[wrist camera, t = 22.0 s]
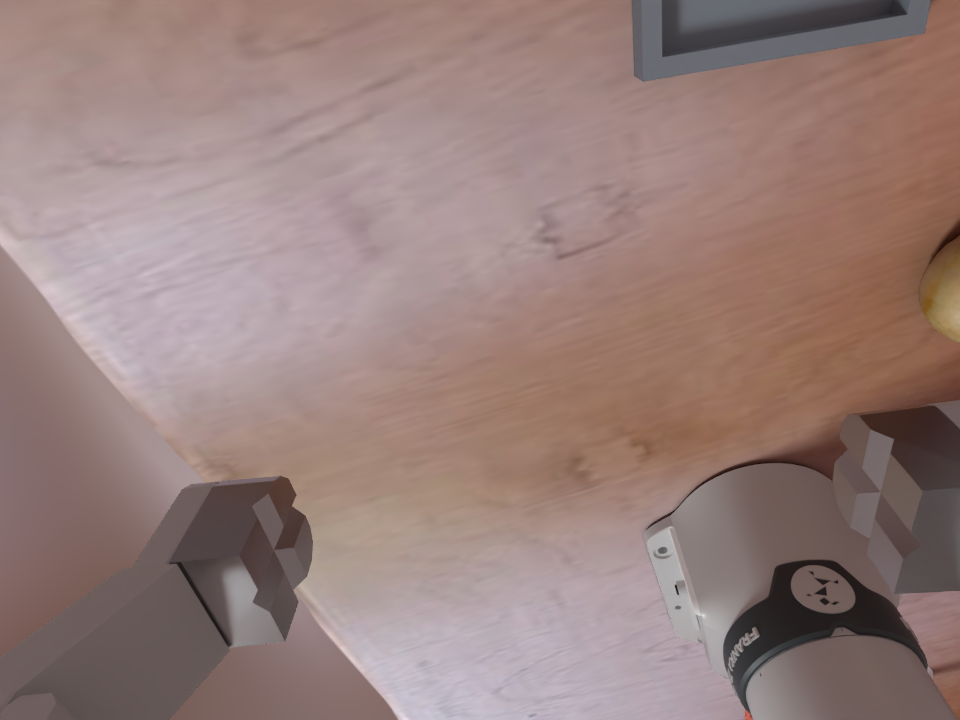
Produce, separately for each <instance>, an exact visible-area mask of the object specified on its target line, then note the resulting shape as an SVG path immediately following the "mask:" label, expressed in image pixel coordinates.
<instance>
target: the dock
mask: <svg viewBox="0 0 960 720" xmlns="http://www.w3.org/2000/svg"><path fill="white" fill-rule="evenodd" d="M930 2H931V0H632V17H633V49H634V76H635V77H637V78H639V79H640V80H642V81H649V80H655V79H661V78H667V77H672V76H678V75H684V74H690V73H696V72H702V71H708V70H713V69H719V68H725V67H731V66H737V65H743V64H749V63H754V62H760V61H766V60H772V59H778V58H784V57H789V56H795V55H801V54H807V53H813V52H819V51H825V50H830V49H836V48H842V47H848V46H854V45H860V44H866V43H871V42H877V41H883V40H889V39H895V38H901V37H906V36H912V35H918V34H924V33H925V29H926V24H927V18H928V13H929V8H930Z"/></svg>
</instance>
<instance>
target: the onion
mask: <svg viewBox="0 0 960 720" xmlns="http://www.w3.org/2000/svg"><path fill="white" fill-rule="evenodd" d="M919 302H920V307H921V309H922V311H923V313H924V315H925V316H926V318H927V320H928V321H929V323H930V324H931V325H932V326H933V327H934V328H935V329H936V330H938V331H939V332H940V333H941V334H943V335H944V336H946V337H948V338H950V339H952V340H954V341H956V342H958V343H960V235H958V237H957V238H956V239H954V240H953V241H951V242H949V243H948V244H947V245H945V246H944V247H943V248H942V249H941V250H940V251H939V252H938V253H937V254H936V256H935V257H934V258H933V260H932V261H931V262H930V264H929V266H928V267H927V269H926V270H925V272H924V274H923V277H922V279H921V283H920V288H919Z"/></svg>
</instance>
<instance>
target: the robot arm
mask: <svg viewBox="0 0 960 720" xmlns="http://www.w3.org/2000/svg"><path fill="white" fill-rule="evenodd" d="M839 438H840V439H841V441H842V442H843V443H844V445H845V446H846V447H847V450H846V451H845V452H844V453H843V454H842V455H841V456H840V457H839V458H838V459H837V460H836V461H835V464H834V472H833V482H832V481H831V480H830V479H829V478H827V477H826V476H824V475H823V474H821V473H819V472H817V471H815V470H813V469H810V468H807V467H803V466H799V465H794V464H785V463H766V464H757V465H751V466H746V467H742V468H739V469H735V470H732V471H729V472H727V473H724V474H722V475H720V476H717V477H715V478H714V479H712V480H710V481H708V482H706V483H705V484H703V485H702V486H700V487H699V488H698V489H696V490H695V491H694V492H693V493H692V494H691V495H689V496H688V497H687V498H686V499H685V501H684V502H683V503H682V504H681V505H680V506H679V507H678V509H677V510H676V511H675V512H674V513H672V514H671V515H670V516H668V517H666V518H664V519H663V520H661V521H659V522H657V523H655V524H654V525H652V526H651V527H649V528H648V529H647V530H646V531H645V533H644V541H645V544H646V547H647V550H648V553H649V556H650V559H651V562H652V565H653V568H654V571H655V574H656V577H657V580H658V583H659V586H660V589H661V592H662V595H663V598H664V601H665V604H666V607H667V610H668V613H669V616H670V619H671V622H672V625H673V628H674V630H675V633H676V635H677V636H678V637H679V638H681V639H684V640H688V641H691V642H696V643H701V644H703V646H704V649H705V653H706V656H707V659H708V662H709V665H710V668H711V669H712V670H713V671H714V672H715V673H717V674H719V675H720V676H723V677H726V678H728V679H729V680H730V683H731V685H732V687H733V689H734V691H735V693H736V695H737V696H738V698H739V699H740V701H741V703H742V705H743V706H744V708H745V709H746V710H745V719H746V720H959V719H958V718H957V716H956V715H955V713H954V712H953V710H952V709H951V707H950V706H949V704H948V703H947V701H946V700H945V698H944V697H943V695H942V694H941V692H940V691H939V689H938V687H937V686H936V684H935V683H934V681H933V680H932V678H931V677H930V675H929V673H928V672H927V668H928V665H927V660H926V657H925V654H924V653H923V651H922V649H921V648H920V646H919V644H918V643H919V642H918V639H917V637H916V636H915V634H914V632H913V631H912V629H911V627H910V626H909V624H908V623H907V622H906V621H905V620H904V619H903V618H902V616H901V615H900V613H899V611H898V610H897V607H898V605H899V600H900V599H901V598H902V594H904V593H923V592H942V591H960V400H955V401H947V402H940V403H932V404H926V405H924V406H915V407H906V408H897V409H888V410H880V411H871V412H862V413H854V414H847V416H846V417H845V419H844V421H843V422H842V425H841V430H840V435H839ZM295 497H296V493H295V491H294V489H293V487H292V485H291V483H290V481H289V479H288V478H285V477H282V476H274V477H262V478H250V479H239V480H227V481H221V482H210V483H198V484H191V485H189V486H187V487H186V488H184V489H182V490H181V492H180V494H179V495H178V497H177V498H176V500H175V501H174V503H173V504H172V506H171V507H170V509H169V511H168V512H167V514H166V515H165V517H164V518H163V520H162V521H161V523H160V525H159V526H158V528H157V529H156V531H155V532H154V534H153V535H152V537H151V539H150V540H149V542H148V543H147V545H146V546H145V548H144V549H143V551H142V553H141V554H140V556H139V557H138V559H137V560H136V562H135V563H134V565H133V567H132V568H124V569H121V570H119V571H118V572H117V573H115V574H114V575H112V576H111V577H110V578H108V579H107V580H106V581H104V582H103V583H102V584H100V585H99V586H97V587H96V588H95V589H93V590H92V591H91V592H89V593H88V594H86V595H85V596H84V597H82V598H81V599H80V600H78V601H77V602H75V603H74V604H73V605H71V606H70V607H69V608H67V609H66V610H64V611H63V612H62V613H60V614H59V615H58V616H56V617H55V618H54V619H52V620H51V621H49V622H48V623H47V624H45V625H44V626H42V627H41V628H40V629H38V630H37V631H36V632H34V633H33V634H32V635H30V636H29V637H27V638H26V639H25V640H23V641H22V642H21V643H19V644H18V645H17V646H15V647H14V648H12V649H11V650H10V651H8V652H7V653H5V654H4V655H3V656H2V657H0V720H170V719H171V717H172V716H173V715H174V714H175V713H176V712H177V711H178V709H179V708H180V707H181V706H182V705H183V704H184V703H185V701H186V700H187V699H188V698H189V697H190V696H191V695H192V693H193V692H194V691H195V690H196V689H197V688H198V686H200V684H201V683H202V682H203V681H204V680H205V679H206V678H207V676H208V675H209V674H210V673H211V672H212V671H213V670H214V669H215V667H216V666H217V665H218V664H219V663H220V662H221V661H222V659H223V658H224V657H225V656H226V654H228V652H229V651H230V649H229V647H239V646H248V645H258V644H267V643H276V642H285V640H286V638H287V635H288V631H289V629H290V626H291V623H292V620H293V617H294V613H295V611H296V608H297V604H298V600H297V597H296V595H295V593H294V591H293V589H294V588H295V587H296V586H297V585H298V584H300V583H301V582H302V581H303V580H304V579H305V578H306V577H307V574H308V571H309V568H310V564H311V561H312V547H313V540H312V535H311V529H310V526H309V523H308V521H307V518H306V516H305V515H304V514H302V513H301V512H299V511H298V510H296V509H295V508H293V507H292V504H293V502H294V499H295Z"/></svg>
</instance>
